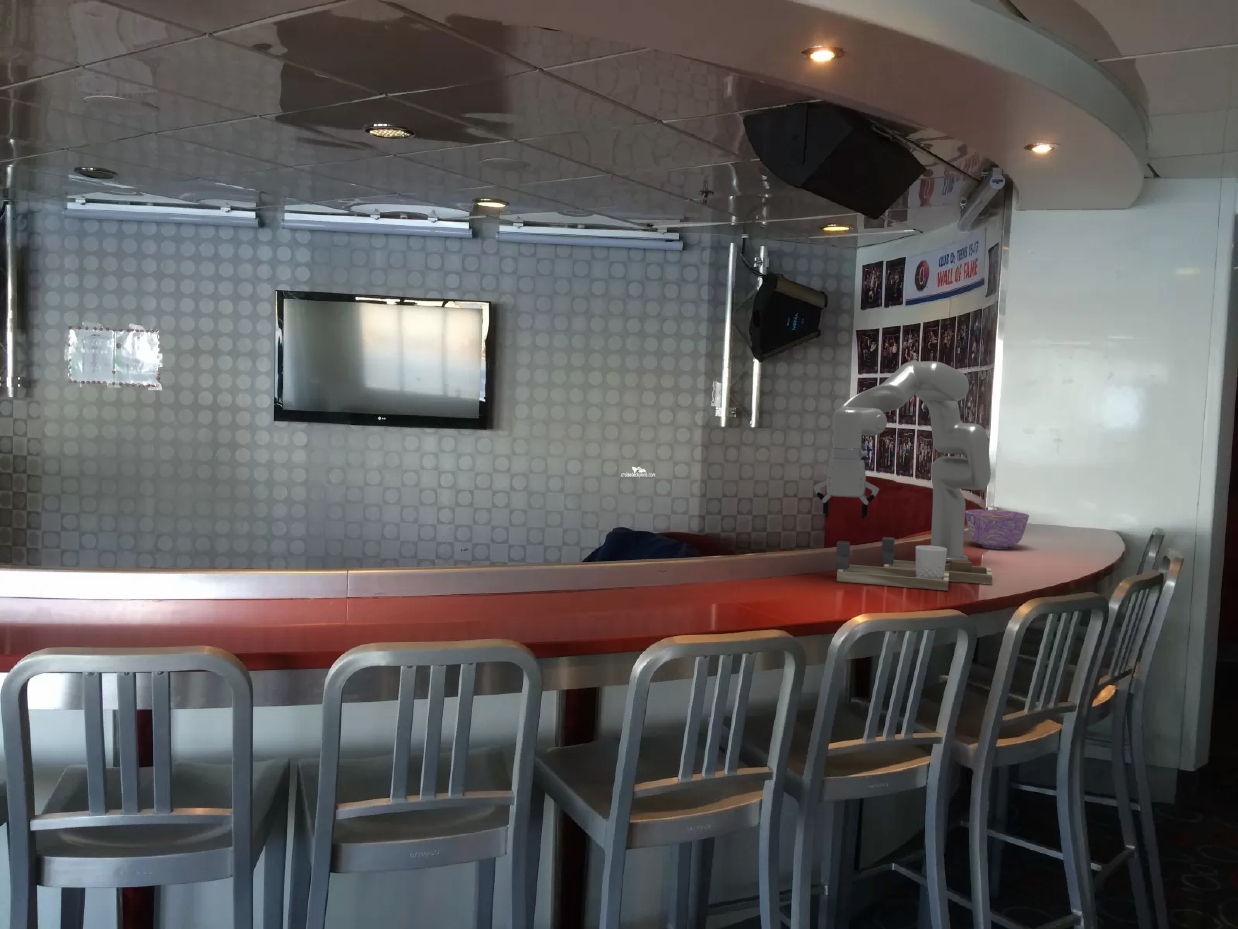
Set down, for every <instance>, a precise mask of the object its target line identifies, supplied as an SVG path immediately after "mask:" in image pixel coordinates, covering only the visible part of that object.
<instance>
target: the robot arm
mask: <svg viewBox="0 0 1238 929" xmlns="http://www.w3.org/2000/svg"><path fill="white" fill-rule="evenodd" d="M969 390H970V383H969V379H968V377H967V376H966V374H965V373H963V371H960V370H958V369H956V368H954V367H952V366H950V365H947V364H946V363H943V362H940V361H934V360H933V361H932V360H931V361H930V360H928V361H927V360H926V361H924V360H923V361H908V362H905V363H903V364H902V365H901V366H899V368H898V369H896V371H894V372H893V373H892V374H891V375H890V376H889V377H888V378H886V379H885V381H883V382H881V384H879V385H876V386H874V387H872V388H869V389H867V390H864V391H862V392H859V393H857V394H855V395H853V396H851V397H850V398H849V399H847V400H846V401H845V402H844V403H843V404H842V405H841V406H840V407H839V409H836V410H835V411H834V412H833V416H832V417H833V419H832V420H833V422H832V425H833V426H832V455H831V456H832V458H831V459H829V461H828V462H829V463H828V466H827V478H826V479H825V480H823V481H821V482H818V483H817V484H815V485H813V487H812V488H813V490H814V492H815V494H816V496H817V497H818V498H819V500H820V501H821V502H822V514H823V515H824V518H828V517H829V516H830V502H829V500H830V498H832V497H838V498H842V497H843V498H859V500H861V502H862V505H861V520H866V517H868V514H869V513H868V512H869V511H868V510H869V504H870V503H871V502H872V501H873V500H874V499H875V498H876V496H877V494H878V493H879V491H880V488H879V487H877V486H875V485H874V484H871V483H870V482H868V481H867V480H866V478H867V477H866V476H867V475H866V466H865V465H866V464H865V460H864V459H862V458H863V457H867V454H868V452H867V450H863V448H862V440H863V439H862V437H863V436H878V435H880V434H881V433H883V432H884V431H885V430H886V428H887V425H888V420H887V419H888V418H887V416H886V414H885V413H888V412H893V411H895V410H898V409H900V408H902V407H903V406H904V405H905V404H906V403H907V402H908V401H910V399H911V398H913V397H914V396H915V397H916V398H918V399H920V400H921V401H922V402H923V403H924V404H925V405H926V407H927V410H928V412H929V416H930V426H931V435H932V443H933V446H934V449H935V450H936V451H937V452H939V453H942V454H947V455H946V456H945V455H943V456H940V457H938V458H936V459H935V460H934V461H933V462H932V463H931V468H930V476H931V484H932V516H931V533H930V534H931V536H930V546H938V547H944V548H946V549H947V554H946V562H948V563H950V559H960V560H969V556H968V555H966V554H964V542H965V541H964V539H965V522H966V519H965V518H966V514H965V511H966V500H965V497H964V494H963V493H962V491H961V489H962V490H971V491H980V490H984V489H986V488H987V487H988V486H989V483H991V474H992V473H991V470H992V469H991V459H990V447H989V440H988V439H989V438H988V435H987V432H986V430H985V429H984V427H983V426H982V425H980V424H979V423H974V422H973V423H971V422H970V423H969V422H968V423H967V422H963V421H962V419H961V415H960V414H961V413H960V407H959V404H958V401H959V402H960V401H962V400H964V399H965V398H966V397H967V395H968V393H969ZM950 454H951V455H952V456H950ZM953 455H963V456H966V457H963V456H953ZM825 486H826V491H825V492H826V495H824V494H823V493H822V491H821V488H823V487H825ZM866 489H869V490H870V491H871V494H870V495H869V496H868V497H867V496H866V495H865V494H866Z"/></svg>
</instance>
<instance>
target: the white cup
mask: <svg viewBox="0 0 1238 929" xmlns="http://www.w3.org/2000/svg"><path fill="white" fill-rule="evenodd" d="M946 554H947V549H946V548H944V547H938V546H931V545H916V546H915V562H916V578H927V579H939V580H943V577H944V572H945V565H946V564H947V561H946Z"/></svg>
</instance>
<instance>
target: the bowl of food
mask: <svg viewBox="0 0 1238 929" xmlns="http://www.w3.org/2000/svg"><path fill="white" fill-rule="evenodd" d="M1029 517H1030V515H1029V514H1028V513H1024V512H1019V511H1009V510H1002V509H1001V510H1000V509H999V510H998V509H968V510H967V509H966V510H965V518H966V519H965V520H966V523H967V529H968V532H969V535H970V538H972V540H973V541H974V542H976V544H979V545H981V547H982V548H985V549H991V550H1007V549H1009V547H1012V546H1015V545H1017V544H1019V543H1020V541H1022V539H1023V536H1024V534H1025V531H1026V527H1027V524H1028V521H1029Z"/></svg>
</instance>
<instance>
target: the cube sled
mask: <svg viewBox="0 0 1238 929" xmlns="http://www.w3.org/2000/svg"><path fill="white" fill-rule="evenodd" d="M881 542H882V543H881V565H883V567H886V568H899V569H911V570H916V561H912V560H911V561H910V560H898V559H897V560H896V559H894V558H895V557H894V556H895V537H886V536H883V537H882V540H881ZM949 564H950V563H946V565H945V572H949V582H954V583H955V582H956V583H969V584H979V583H985V584H984V585H991V584H992V585H993V572H992V567H989V566H978V565H977V566H976V565H972V572H971V573H965V572H952V571H949Z"/></svg>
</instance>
